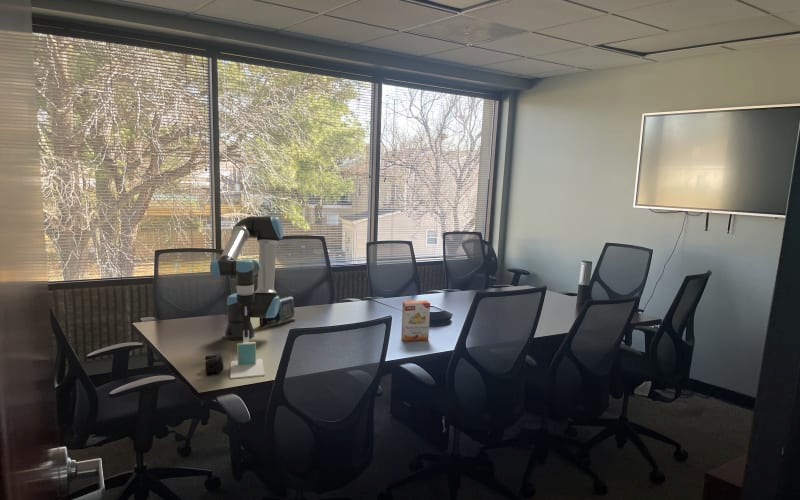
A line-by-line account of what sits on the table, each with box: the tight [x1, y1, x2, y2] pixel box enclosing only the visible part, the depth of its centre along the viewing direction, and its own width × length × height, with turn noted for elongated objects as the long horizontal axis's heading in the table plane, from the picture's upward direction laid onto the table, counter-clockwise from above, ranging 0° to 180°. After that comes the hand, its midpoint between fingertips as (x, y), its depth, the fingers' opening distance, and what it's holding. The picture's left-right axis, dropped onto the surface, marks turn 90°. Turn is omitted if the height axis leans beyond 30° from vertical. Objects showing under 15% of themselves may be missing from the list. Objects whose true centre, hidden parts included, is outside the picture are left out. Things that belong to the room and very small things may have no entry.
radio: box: [258, 295, 296, 329], centre depth 293 cm, size 23×9×15 cm, turn 131°
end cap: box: [204, 352, 224, 377], centre depth 222 cm, size 10×7×7 cm
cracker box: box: [400, 300, 431, 342], centre depth 271 cm, size 14×6×21 cm, turn 105°
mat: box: [229, 357, 265, 380], centre depth 226 cm, size 20×14×1 cm
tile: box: [236, 341, 257, 366], centre depth 229 cm, size 2×8×10 cm, turn 108°
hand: (246, 343), depth 234 cm, fingers closed
